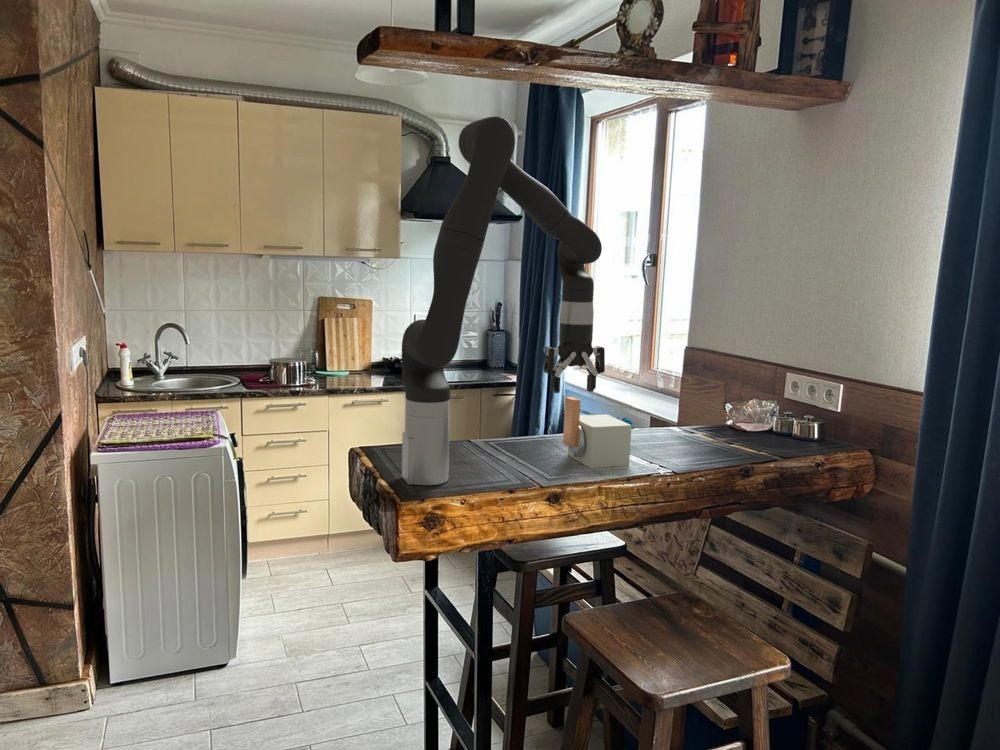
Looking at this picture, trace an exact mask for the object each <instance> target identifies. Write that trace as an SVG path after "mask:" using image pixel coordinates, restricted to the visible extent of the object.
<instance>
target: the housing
mask: <svg viewBox="0 0 1000 750" xmlns="http://www.w3.org/2000/svg"><path fill="white" fill-rule="evenodd" d="M616 418H617V417H614V416H612V415H609V414H606V413H604V414H585V415H581V414H580V420H579V425H581V426H582V428H583V430H584V432H585V438H586V447H585V451H584V454H583V455H582V456H581V457H574V456H573V455H572V454H571V452H570V450H569V446H567V455H568V456H570V457H571V458H573V459H575V460H576V461H578V462H579V463H581V464H583V465H584V466H586V467H587V468H589V469H598V468H597V467H600V468H611V466H615V467H625V466H627V467H628V466H630V458H631V457H630V455H631V439H632V429H631V427H633V424H632V425H630V424H628V423H627V422H626V423H625V422H623V420H622V419H620V418H619V419H620V420H619V419H616Z"/></svg>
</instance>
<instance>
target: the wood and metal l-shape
mask: <svg viewBox="0 0 1000 750" xmlns="http://www.w3.org/2000/svg"><path fill="white" fill-rule="evenodd" d="M563 414H564V416H563V417H564V418H563V432H562V434H563V437H562V444H563V445H565V446H567V447H568V446H569V450H570V452H571V454H572V455H573V456H574V457H581V456H582V455H583V454H584V451H585V447H586V438H585V432H584V430H583V428H582V426H581V425H579V420H580V416H581V399H580V398H577V397H575V396H565V397H564V413H563Z"/></svg>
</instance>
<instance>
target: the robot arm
mask: <svg viewBox="0 0 1000 750" xmlns="http://www.w3.org/2000/svg"><path fill="white" fill-rule="evenodd" d="M515 147H516V135H515V131H514V128H513V126H512V124H511V123H510V122H509V120H507V119H505V117H501V116H495V115H494V116H489V117H485V118H482V119H478V120H476V121H473V122H472V121H471V122H470V123H468V124H467V125H465V126H464V127H463V128H462V129H461V131H460V133H459V137H458V148H459V152H460V154H461V155H462V157H463V159H464V160H465V161H466V162H467V163H468V164H469V168H468V172H467V175H466V177H465V181H464V182H463V185H462V187H461V189H460V191H458V194H457V195H456V197H455V199H454V200H453V202H452V203H451V205H450V207H449V208H448V210H447V212H446V213H445V215H444V218H443V219H442V222H441V225H440V227H439V228H440V229H439V232H438V235H437V238H436V239H437V240H436V243H435V246H434V251H433V258H432V260H433V261H432V266H433V267H432V268H433V270H432V271H433V294H432V298H431V302H430V306H429V309H428V311H427V315H426V318H425V319H417V320H415V321H412V323H410V324H409V325H408V326H407V327H406V329H405V330H404V333H403V335H402V341H401V378H402V384H403V388H404V390H405V391H404V398H405V399H404V400H405V402H404V403H405V409H404V410H405V411H404V417H405V418H404V431H403V432H402V438H401V439H402V440H401V441H402V442H401V443H402V444H401V446H402V448H401V477H402V479H403V480H404V482H406V484H407V485H418V486H435V485H436V486H437V485H442V484H444V483H445V484H446V482H448V481H449V472H450V467H449V465H450V464H449V463H450V461H449V460H450V426H451V423H450V422H451V392H452V391H451V386H450V384H449V382H448V380H447V378H446V375H445V372H444V367H446V366H447V365H448V364H450V363H451V362H452V360H454V357H455V356H456V354H457V351H458V347H459V344H460V340H461V333H462V326H463V321H464V317H465V311H466V306H467V301H468V298H469V295H470V292H471V288H472V285H473V281H474V277H475V275H476V269H477V266H478V264H479V261H480V259H481V254H482V251H483V248H484V244H485V240H486V235H487V232H488V229H489V225H490V222H491V218H492V215H493V211H494V208H495V204H496V203H495V202H496V200H497V196H498V194H499V190H500V189H501V191H503V192H504V193H505V194H506V195H507V197H509V198H510V199H512V200H513V201H514V202H515V204H517V205H518V206H519V207H520V208H521V209H522V211H524V213H526V215H527V216H529V218H530V219H531V220H532V221H533V222H534V223H535V224H536V225H537V227H539V228H540V230H541V231H542V232H543V233H544V234H545V235H546V236H547V237H549V238H551V239H555V240H557V241H559V242H558V245H557V262H558V266H559V271H560V277H561V281H562V282H561V283H562V285H561V304H560V305H561V306H560V310H559V311H560V312H559V329H558V330H559V333H558V344H559V345H558V346H557V347H550V346H546V347H545V350H544V362H543V373H545V374H548V375H550V376H551V379H550V380H551V381H550V389H551V390H552V391H553V393H555V394H560V391H561V377H560V376H561V374H562V373H563V371H565V370H566V369H567V368H568V367H575V366H576V367H584V369H585V370H586V372H587V373H588V374H587V375H586V377H587V379H586V392H589V393H593V392H594V390H596V387H597V376H598V375H599V374H603V373H605V368H606V367H605V365H606V364H605V361H606V360H605V357H606V356H605V353H606V352H605V350H606V349H605V348H604V347H603V346H600V345H596V346H592V342H593V332H594V331H593V330H594V314H595V313H594V285H595V284H594V279H593V277H592V276H590V275H588V274H587V273H586V269H585V268H586V267H585V265H588V264H593V263H595V262H597V261H598V260H599V258H600V257H601V254H602V251H603V250H602V249H603V247H602V242H601V239H600V237H599V236H598V234H597V233H596V232H595V231H594V230H593V229H592V228H591V227H590V226H588V225H587V224H586V223H585V222H583V221H582V220H580V219H579V218H578V217H576V216H575V215H574V214H572V213H571V212H570V211H569V210H568V208H567V207H566V205H564V204H563V202H562V201H561V200H560V199H559V198H558V197H557V196H556V195H555V194H554V193H553V192H552V191H551V190H550V189H549V188H548V187H547V186H545V185H544V184H543V183H541V182H540V181H539V180H537V179H535V178H534V177H532V176H531V175H530V174H528V173H527V172H526V171H524V170H523V169H521V168H520V166H519V165H517V164H516V163H515V162H514V161H513V160H512V157H513V154H514V151H515ZM557 355H558V356H559V357H558V359H557V361H556V362H555V361H554V360H555V357H557ZM592 355H593V356H594V358H595V359H594V364H595V365H594V364H593V362H592V361H591V358H590V357H591V356H592ZM554 362H555V366H554Z"/></svg>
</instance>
